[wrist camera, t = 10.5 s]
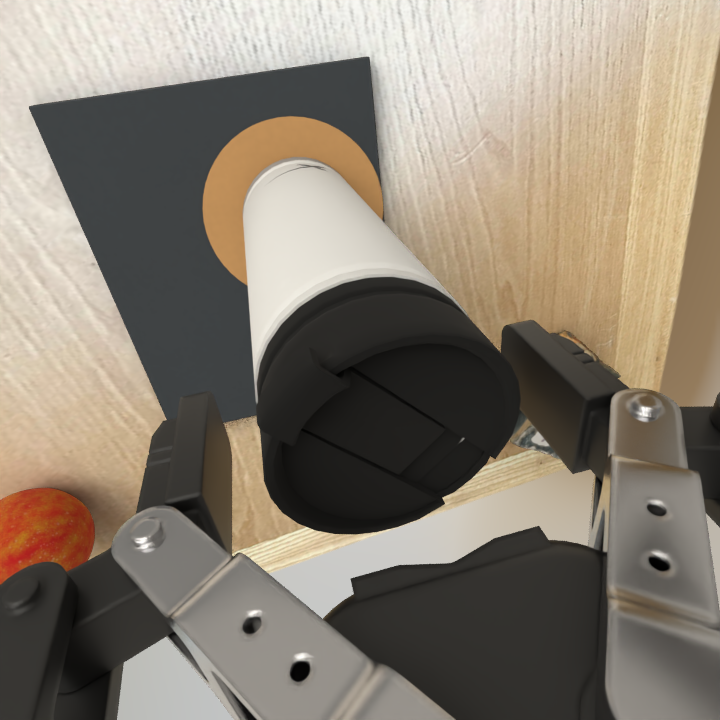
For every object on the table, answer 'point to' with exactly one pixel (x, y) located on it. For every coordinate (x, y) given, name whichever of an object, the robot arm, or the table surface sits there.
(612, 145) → the table surface
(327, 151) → the mat
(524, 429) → the rock
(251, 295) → the travel mug
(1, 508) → the fruit
